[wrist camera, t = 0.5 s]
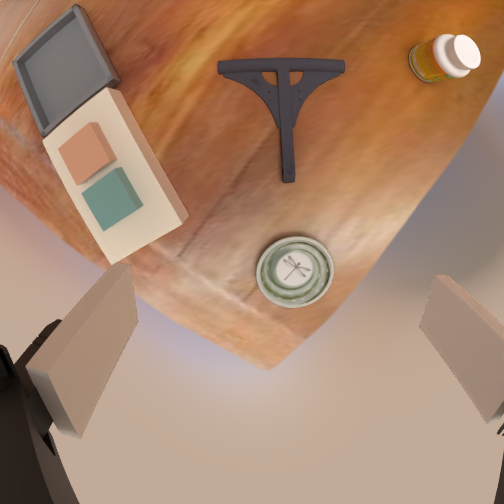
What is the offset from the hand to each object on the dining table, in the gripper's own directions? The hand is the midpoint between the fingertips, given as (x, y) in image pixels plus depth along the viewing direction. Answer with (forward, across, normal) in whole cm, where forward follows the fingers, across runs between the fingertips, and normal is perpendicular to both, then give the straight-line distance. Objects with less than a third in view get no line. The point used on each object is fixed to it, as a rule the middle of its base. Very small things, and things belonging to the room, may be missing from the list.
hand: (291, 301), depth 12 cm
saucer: (+26, +4, -9) cm, 28 cm away
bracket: (+26, +2, +9) cm, 28 cm away
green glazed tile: (+21, -17, 0) cm, 27 cm away
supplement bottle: (+26, +20, +19) cm, 38 cm away
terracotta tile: (+21, -20, +5) cm, 29 cm away
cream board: (+25, -18, +2) cm, 31 cm away
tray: (+25, -26, +17) cm, 40 cm away
